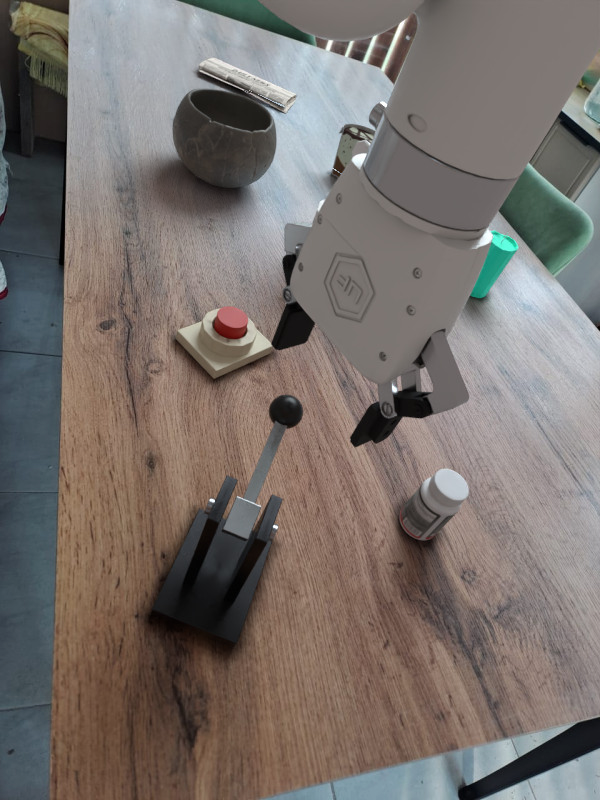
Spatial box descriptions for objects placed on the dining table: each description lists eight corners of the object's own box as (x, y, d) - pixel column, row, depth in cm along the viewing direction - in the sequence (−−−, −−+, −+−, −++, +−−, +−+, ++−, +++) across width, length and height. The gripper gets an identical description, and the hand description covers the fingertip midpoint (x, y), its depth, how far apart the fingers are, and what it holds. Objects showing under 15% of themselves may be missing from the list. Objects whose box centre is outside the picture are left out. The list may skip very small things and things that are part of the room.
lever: (274, 395, 52) (278, 384, 49) (304, 408, 52) (311, 398, 49) (216, 530, 47) (217, 526, 44) (250, 544, 47) (253, 541, 44)
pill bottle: (431, 507, 68) (467, 468, 62) (439, 543, 65) (477, 506, 59) (395, 502, 67) (428, 461, 61) (401, 539, 63) (436, 500, 58)
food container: (386, 193, 121) (406, 148, 114) (373, 200, 117) (393, 154, 110) (339, 163, 123) (356, 118, 116) (325, 170, 119) (342, 123, 112)
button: (227, 343, 71) (230, 331, 69) (207, 323, 72) (210, 311, 71) (250, 333, 73) (254, 322, 72) (231, 314, 75) (234, 302, 73)
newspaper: (194, 74, 131) (196, 62, 129) (213, 67, 140) (215, 56, 139) (284, 114, 131) (287, 103, 130) (297, 105, 141) (300, 94, 139)
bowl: (198, 209, 95) (213, 135, 86) (148, 151, 102) (157, 77, 93) (282, 201, 105) (303, 134, 96) (232, 149, 112) (247, 83, 103)
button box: (213, 379, 71) (219, 359, 68) (175, 338, 73) (179, 318, 71) (271, 353, 77) (278, 334, 74) (233, 316, 79) (239, 297, 77)
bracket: (197, 514, 58) (223, 439, 49) (270, 544, 58) (309, 475, 49) (149, 614, 50) (171, 547, 41) (234, 648, 50) (273, 589, 41)
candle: (491, 292, 107) (528, 238, 98) (477, 302, 103) (515, 246, 94) (465, 273, 109) (500, 219, 100) (451, 282, 105) (486, 226, 96)
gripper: (287, 88, 31) (221, 321, 43) (517, 291, 24) (362, 501, 36) (381, 94, 35) (298, 303, 47) (599, 266, 28) (436, 461, 40)
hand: (325, 389), depth 42 cm, fingers open, 9 cm apart
